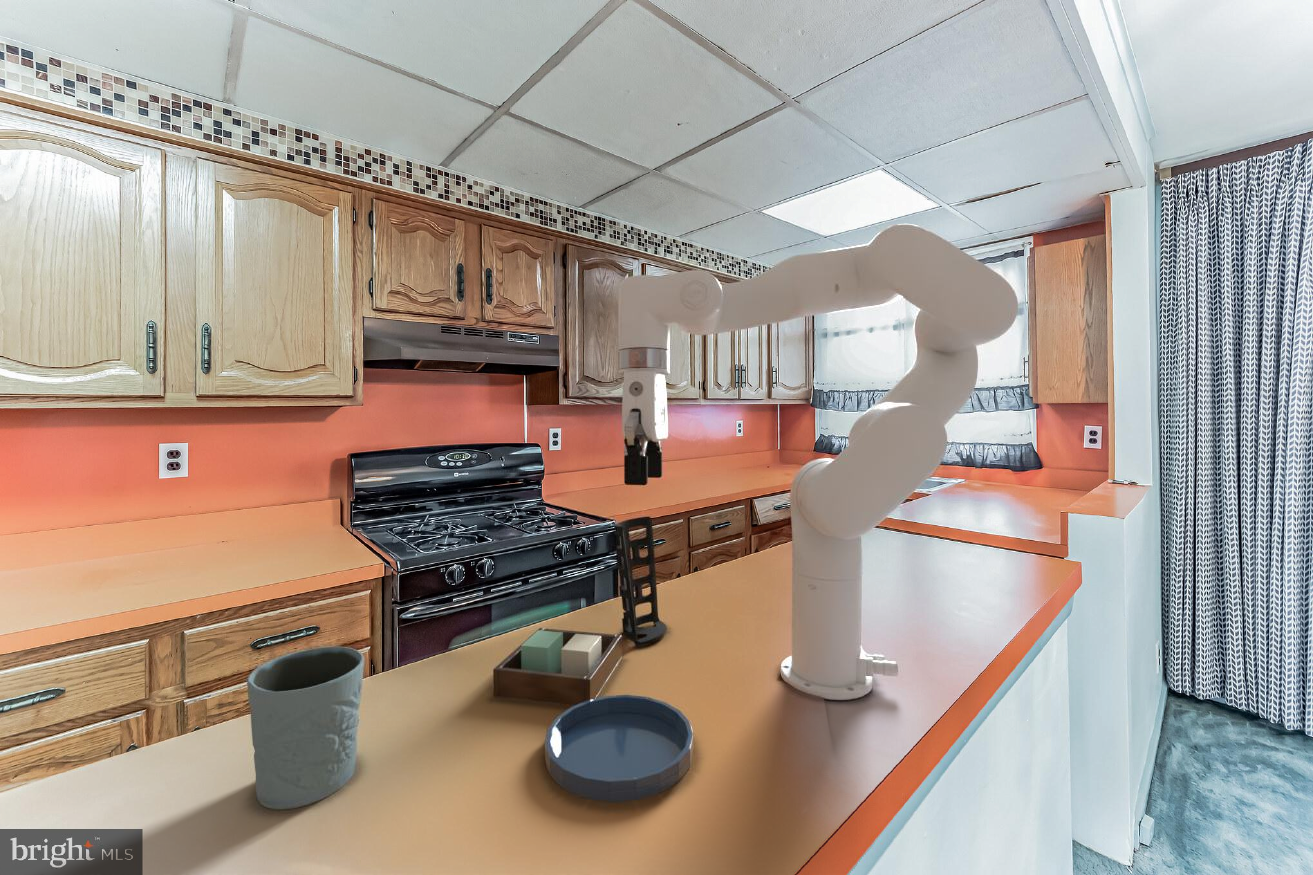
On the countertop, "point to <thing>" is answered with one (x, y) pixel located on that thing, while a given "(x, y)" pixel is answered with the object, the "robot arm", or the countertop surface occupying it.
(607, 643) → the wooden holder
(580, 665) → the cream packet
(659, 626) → the holder
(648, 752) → the blue round tray
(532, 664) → the green block
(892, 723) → the countertop surface
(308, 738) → the grey embossed cup
